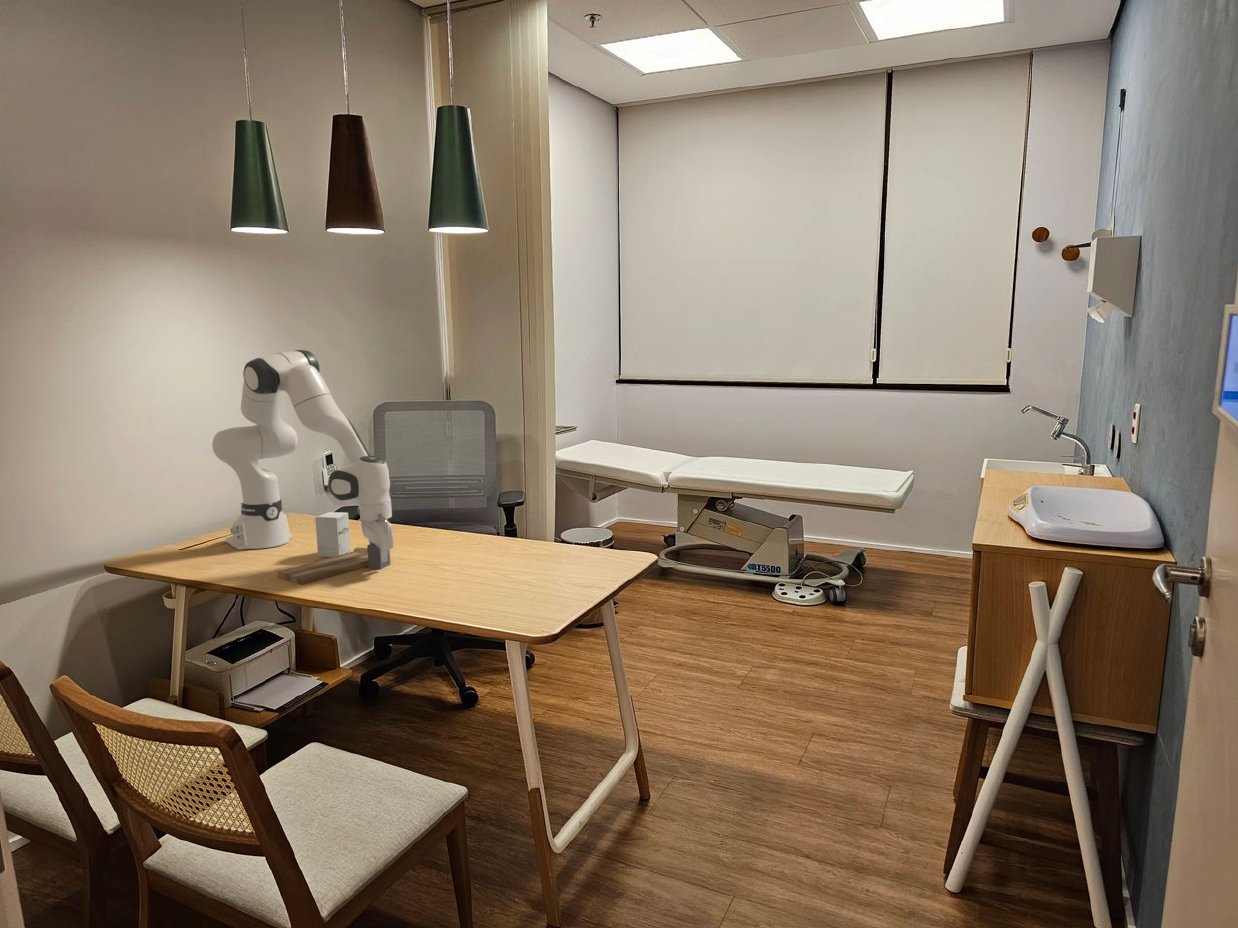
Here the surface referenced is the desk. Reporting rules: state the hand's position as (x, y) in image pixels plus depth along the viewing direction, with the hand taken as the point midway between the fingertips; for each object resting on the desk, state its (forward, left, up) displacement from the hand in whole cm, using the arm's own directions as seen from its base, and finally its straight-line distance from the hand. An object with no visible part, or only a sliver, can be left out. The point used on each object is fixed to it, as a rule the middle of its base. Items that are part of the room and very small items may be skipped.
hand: (379, 557), depth 238 cm
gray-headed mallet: (-3, -1, -3) cm, 4 cm away
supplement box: (-23, 0, -3) cm, 23 cm away
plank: (-9, -9, -3) cm, 13 cm away
